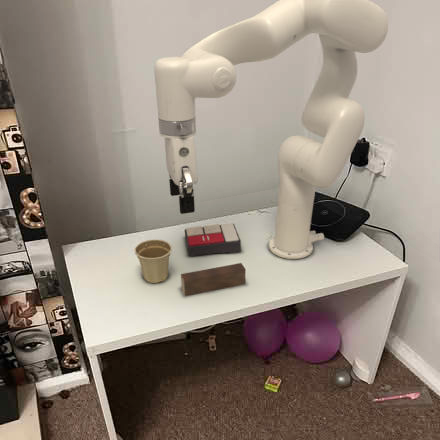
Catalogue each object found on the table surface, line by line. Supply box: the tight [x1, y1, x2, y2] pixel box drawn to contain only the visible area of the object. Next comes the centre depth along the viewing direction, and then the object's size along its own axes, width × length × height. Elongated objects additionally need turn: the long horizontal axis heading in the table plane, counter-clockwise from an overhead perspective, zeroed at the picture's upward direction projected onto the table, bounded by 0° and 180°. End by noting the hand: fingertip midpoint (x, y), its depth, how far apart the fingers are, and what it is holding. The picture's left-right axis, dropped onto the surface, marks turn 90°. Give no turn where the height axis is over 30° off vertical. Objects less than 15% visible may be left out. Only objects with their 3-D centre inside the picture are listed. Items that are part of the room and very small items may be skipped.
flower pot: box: [133, 239, 173, 284], centre depth 113 cm, size 9×9×9 cm
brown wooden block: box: [180, 262, 247, 297], centre depth 110 cm, size 16×3×5 cm, turn 108°
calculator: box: [184, 222, 242, 257], centre depth 127 cm, size 11×4×15 cm
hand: (182, 203), depth 100 cm, fingers open, 9 cm apart
